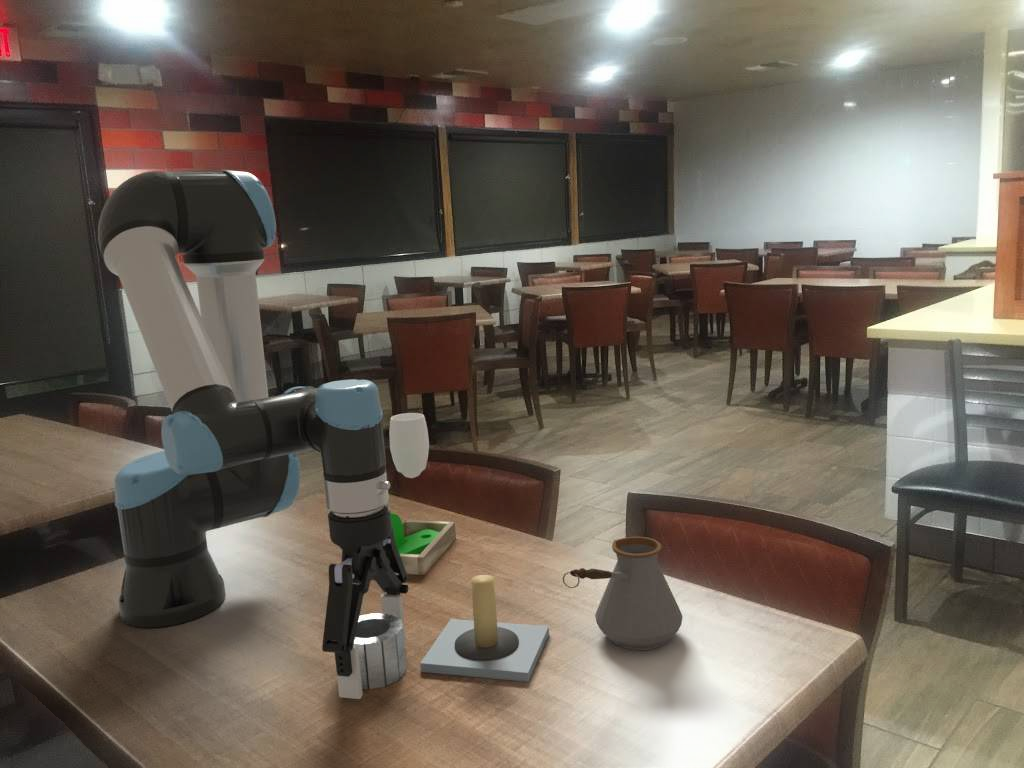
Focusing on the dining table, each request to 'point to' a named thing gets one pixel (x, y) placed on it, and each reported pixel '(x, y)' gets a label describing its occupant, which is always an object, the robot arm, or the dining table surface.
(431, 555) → the parts corral
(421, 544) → the mechanical part
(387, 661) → the ring
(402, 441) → the white rounded tapered piece
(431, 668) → the square base plate
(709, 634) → the dining table surface
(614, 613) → the coffee pot
